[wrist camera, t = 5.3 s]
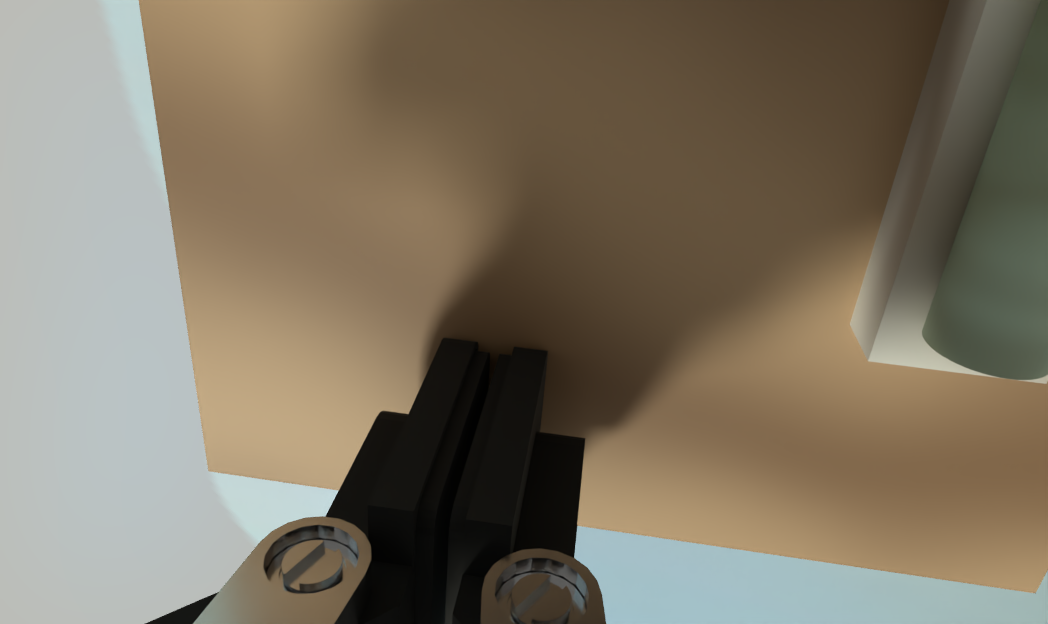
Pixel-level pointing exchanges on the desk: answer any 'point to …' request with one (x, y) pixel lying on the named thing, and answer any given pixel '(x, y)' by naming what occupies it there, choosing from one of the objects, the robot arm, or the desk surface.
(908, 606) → the desk surface
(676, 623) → the desk surface
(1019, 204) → the level plate
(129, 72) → the desk surface
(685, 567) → the desk surface
